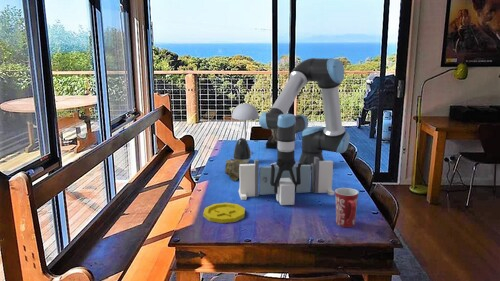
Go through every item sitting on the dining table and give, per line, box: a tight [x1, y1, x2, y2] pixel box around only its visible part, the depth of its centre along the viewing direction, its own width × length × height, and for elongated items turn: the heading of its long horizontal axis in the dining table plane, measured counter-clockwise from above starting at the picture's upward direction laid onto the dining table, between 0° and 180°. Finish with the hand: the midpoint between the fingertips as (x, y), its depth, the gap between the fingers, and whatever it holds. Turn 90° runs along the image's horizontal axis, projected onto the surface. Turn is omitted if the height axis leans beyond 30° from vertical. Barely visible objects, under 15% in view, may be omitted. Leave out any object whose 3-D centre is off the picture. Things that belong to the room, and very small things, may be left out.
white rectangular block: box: [278, 178, 296, 206], centre depth 185 cm, size 6×10×9 cm, turn 8°
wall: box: [238, 157, 336, 201], centre depth 194 cm, size 44×10×17 cm, turn 98°
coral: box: [258, 116, 278, 150], centre depth 287 cm, size 25×20×22 cm
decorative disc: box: [203, 202, 246, 224], centre depth 172 cm, size 17×18×2 cm
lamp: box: [231, 102, 259, 155], centre depth 264 cm, size 17×17×33 cm
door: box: [259, 163, 314, 196], centre depth 193 cm, size 26×3×14 cm, turn 98°
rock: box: [224, 158, 249, 182], centre depth 220 cm, size 19×10×10 cm
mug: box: [334, 187, 360, 228], centre depth 160 cm, size 13×9×14 cm
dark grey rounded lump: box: [232, 137, 252, 163], centre depth 244 cm, size 10×10×15 cm
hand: (285, 199), depth 186 cm, fingers closed on white rectangular block, 6 cm apart
